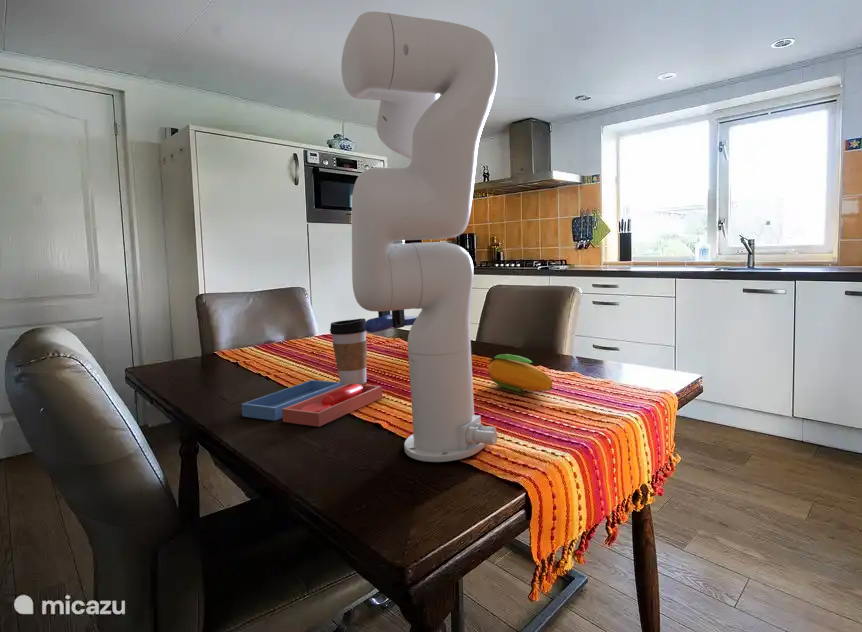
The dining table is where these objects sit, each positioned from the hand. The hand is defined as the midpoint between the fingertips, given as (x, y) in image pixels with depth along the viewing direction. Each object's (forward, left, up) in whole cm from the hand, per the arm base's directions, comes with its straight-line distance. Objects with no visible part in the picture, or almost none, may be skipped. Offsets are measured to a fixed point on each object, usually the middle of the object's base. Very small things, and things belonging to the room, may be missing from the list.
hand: (392, 326), depth 107 cm
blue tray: (+17, +12, -15) cm, 25 cm away
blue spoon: (0, 0, 0) cm, 0 cm away
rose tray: (+6, +12, -15) cm, 20 cm away
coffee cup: (+16, -5, -15) cm, 23 cm away
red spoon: (+6, +12, -14) cm, 20 cm away
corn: (-25, -10, -15) cm, 31 cm away
